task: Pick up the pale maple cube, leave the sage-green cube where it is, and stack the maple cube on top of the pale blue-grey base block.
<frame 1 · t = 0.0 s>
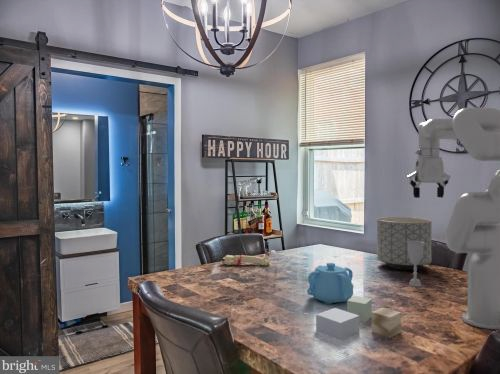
hand: (428, 197, 156), 37 cm above the table, tool pointing down, fingers open, 9 cm apart
base block: (337, 331, 119), on the table
sage cube: (359, 317, 129), on the table
chalice: (415, 285, 167), on the table
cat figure: (245, 265, 206), on the table
planter: (403, 267, 197), on the table
decorative pot: (330, 300, 148), on the table
maple cube: (386, 332, 117), on the table
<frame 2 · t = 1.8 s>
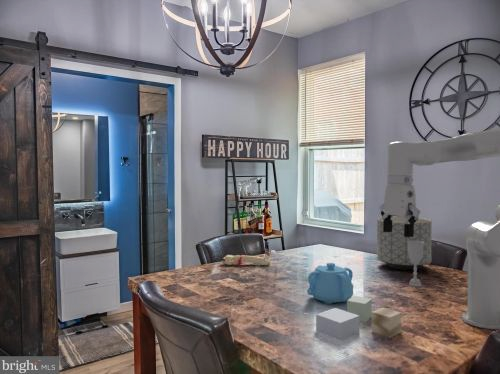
hand: (397, 234, 127), 27 cm above the table, tool pointing down, fingers open, 9 cm apart
nothing on the table moved.
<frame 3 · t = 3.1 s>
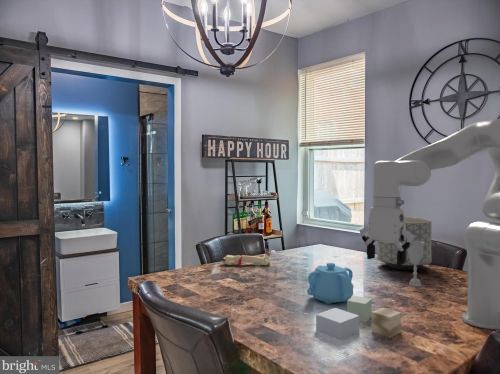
hand: (385, 261, 117), 21 cm above the table, tool pointing down, fingers open, 9 cm apart
nothing on the table moved.
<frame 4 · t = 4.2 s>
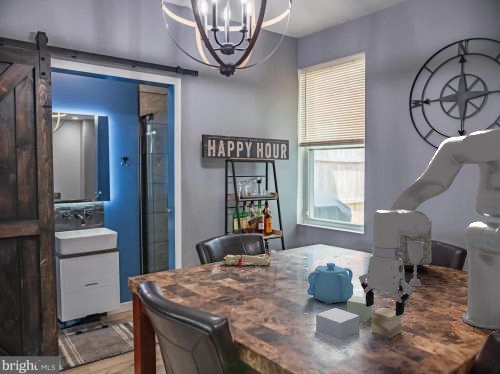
hand: (384, 310, 117), 7 cm above the table, tool pointing down, fingers open, 9 cm apart
nothing on the table moved.
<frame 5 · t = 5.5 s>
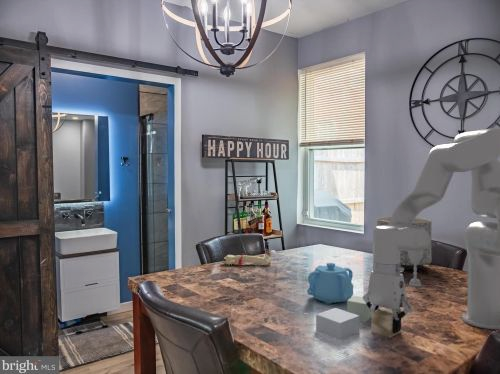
hand: (385, 328, 117), 1 cm above the table, tool pointing down, fingers closed on maple cube, 6 cm apart
maple cube: (385, 332, 117), on the table, touching gripper
everything else where it was.
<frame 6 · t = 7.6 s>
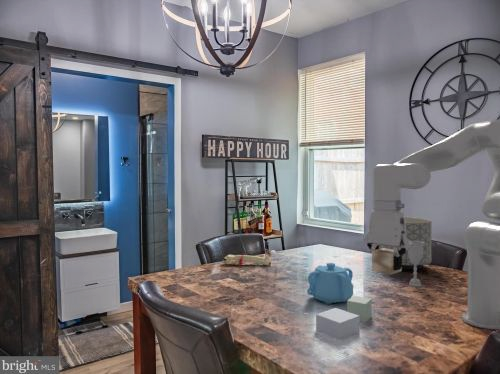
hand: (386, 267, 117), 19 cm above the table, tool pointing down, fingers closed on maple cube, 6 cm apart
maple cube: (386, 271, 117), point 18 cm above the table, touching gripper
everything else where it was.
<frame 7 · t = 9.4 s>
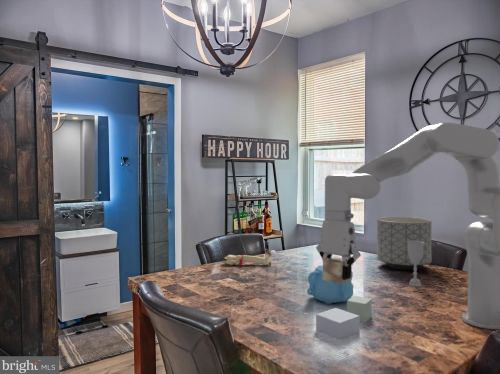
hand: (337, 276, 118), 16 cm above the table, tool pointing down, fingers closed on maple cube, 6 cm apart
maple cube: (337, 279, 118), point 15 cm above the table, touching gripper
everything else where it was.
when the fingers open (7 cm above the table, at t = 11.7 s): maple cube drops 2 cm, resting on base block.
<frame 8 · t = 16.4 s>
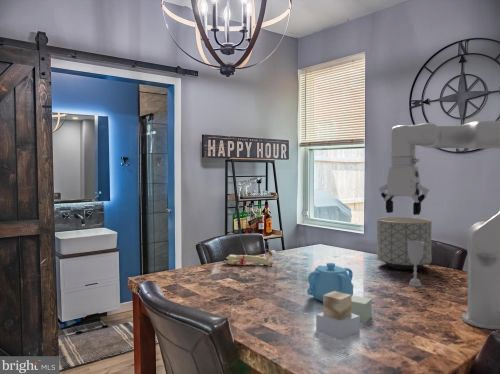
hand: (402, 213, 134), 33 cm above the table, tool pointing down, fingers open, 9 cm apart
base block: (337, 331, 119), on the table, touching maple cube
maple cube: (337, 315, 119), point 5 cm above the table, touching base block
at the end: maple cube 0.2 cm off-centre on the base block, point 5.0 cm above the base block's base; maple cube tilted 0°; the gripper is holding nothing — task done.
